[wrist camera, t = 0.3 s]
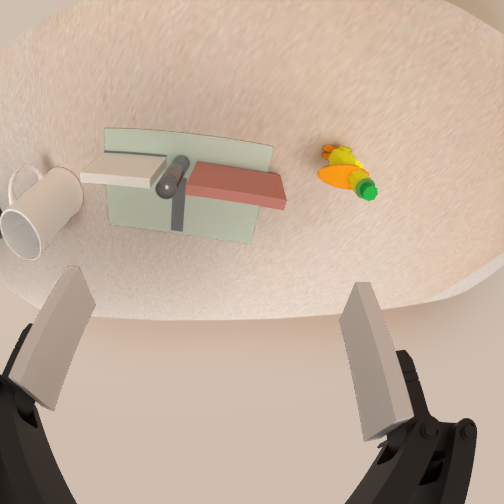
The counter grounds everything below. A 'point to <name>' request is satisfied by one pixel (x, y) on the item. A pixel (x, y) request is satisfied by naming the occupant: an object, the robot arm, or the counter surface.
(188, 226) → the card
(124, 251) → the counter surface
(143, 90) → the counter surface
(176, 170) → the post
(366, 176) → the toy figure
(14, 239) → the mug
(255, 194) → the red panel
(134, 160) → the fixed panel
